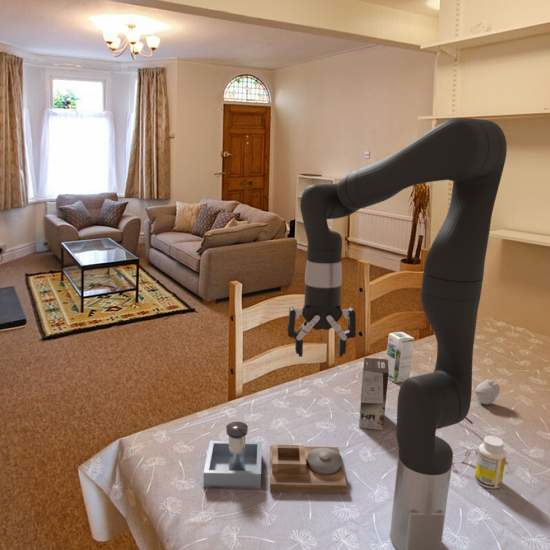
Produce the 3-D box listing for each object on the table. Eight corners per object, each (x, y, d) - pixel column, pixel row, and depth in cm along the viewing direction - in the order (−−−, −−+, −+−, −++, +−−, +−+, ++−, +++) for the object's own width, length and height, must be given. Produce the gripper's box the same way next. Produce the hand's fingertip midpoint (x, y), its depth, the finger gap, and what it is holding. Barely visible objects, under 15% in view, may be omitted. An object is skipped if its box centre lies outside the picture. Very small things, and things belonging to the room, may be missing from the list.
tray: (260, 488, 110) (260, 474, 109) (203, 487, 110) (203, 472, 109) (261, 455, 121) (261, 441, 120) (209, 454, 121) (209, 440, 120)
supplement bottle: (493, 473, 117) (499, 433, 115) (506, 489, 112) (513, 447, 109) (469, 474, 117) (475, 433, 114) (481, 490, 111) (488, 448, 109)
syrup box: (383, 376, 165) (387, 333, 161) (398, 373, 167) (402, 330, 164) (394, 383, 160) (399, 339, 156) (410, 380, 162) (414, 337, 159)
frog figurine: (502, 406, 148) (506, 383, 146) (483, 410, 146) (486, 387, 144) (487, 396, 154) (490, 374, 152) (468, 400, 151) (471, 378, 149)
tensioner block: (346, 493, 109) (347, 474, 108) (270, 492, 109) (270, 473, 108) (337, 454, 123) (339, 437, 121) (270, 453, 122) (270, 435, 121)
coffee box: (383, 431, 133) (389, 373, 129) (358, 427, 135) (362, 370, 131) (383, 413, 142) (388, 358, 138) (359, 410, 143) (364, 356, 139)
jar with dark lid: (246, 474, 113) (247, 433, 111) (225, 474, 113) (225, 432, 111) (247, 462, 118) (248, 421, 115) (227, 462, 118) (227, 421, 115)
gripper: (290, 286, 103) (288, 362, 107) (361, 286, 104) (356, 362, 108) (287, 277, 111) (285, 349, 114) (354, 277, 111) (350, 349, 115)
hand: (320, 355), depth 111 cm, fingers open, 8 cm apart
